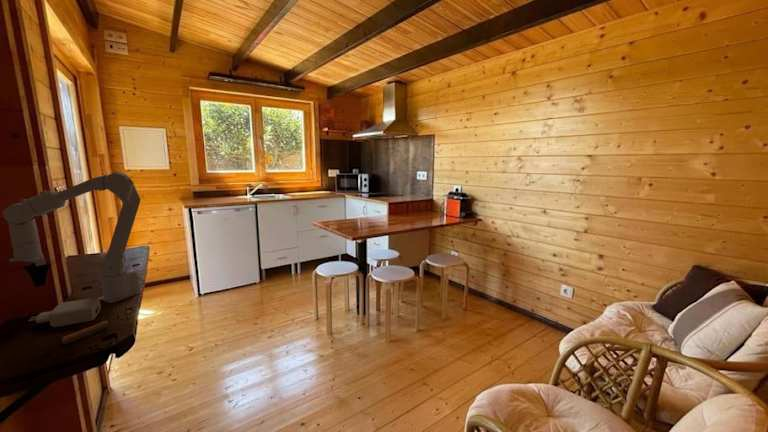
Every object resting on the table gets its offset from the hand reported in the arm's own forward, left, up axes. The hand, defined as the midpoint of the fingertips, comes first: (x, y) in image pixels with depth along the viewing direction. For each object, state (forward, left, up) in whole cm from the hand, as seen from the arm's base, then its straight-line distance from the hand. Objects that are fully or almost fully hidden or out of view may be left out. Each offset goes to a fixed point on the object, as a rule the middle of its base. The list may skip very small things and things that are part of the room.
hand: (34, 283), depth 101 cm
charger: (-1, +14, -10) cm, 17 cm away
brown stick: (+1, +30, -9) cm, 31 cm away
